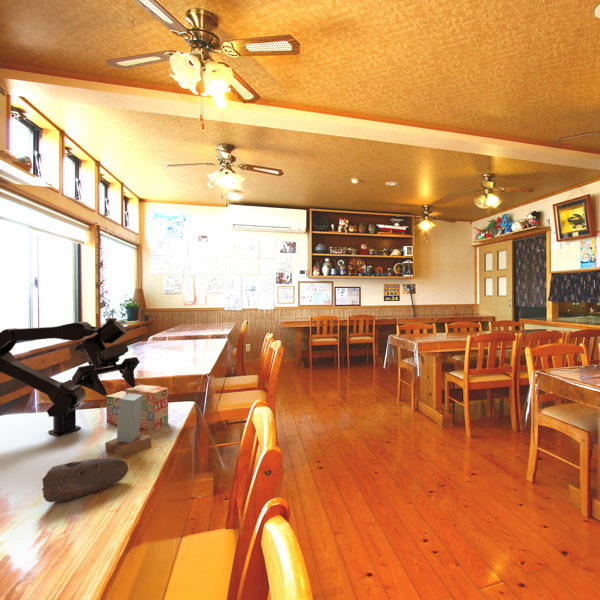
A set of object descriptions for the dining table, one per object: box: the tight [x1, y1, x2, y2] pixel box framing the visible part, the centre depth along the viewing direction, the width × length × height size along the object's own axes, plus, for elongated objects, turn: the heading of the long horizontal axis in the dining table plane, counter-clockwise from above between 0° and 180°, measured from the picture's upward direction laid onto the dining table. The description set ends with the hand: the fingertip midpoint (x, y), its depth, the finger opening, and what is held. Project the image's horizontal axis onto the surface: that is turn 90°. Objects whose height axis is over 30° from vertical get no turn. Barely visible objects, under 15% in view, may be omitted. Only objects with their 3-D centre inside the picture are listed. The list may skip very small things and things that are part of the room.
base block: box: [104, 433, 152, 459], centre depth 85 cm, size 8×8×3 cm
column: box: [116, 393, 142, 443], centre depth 84 cm, size 4×4×12 cm
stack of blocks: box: [105, 384, 169, 431], centre depth 104 cm, size 21×6×12 cm, turn 70°
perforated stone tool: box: [41, 457, 129, 503], centre depth 66 cm, size 15×5×7 cm, turn 122°
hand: (120, 390), depth 95 cm, fingers open, 9 cm apart
